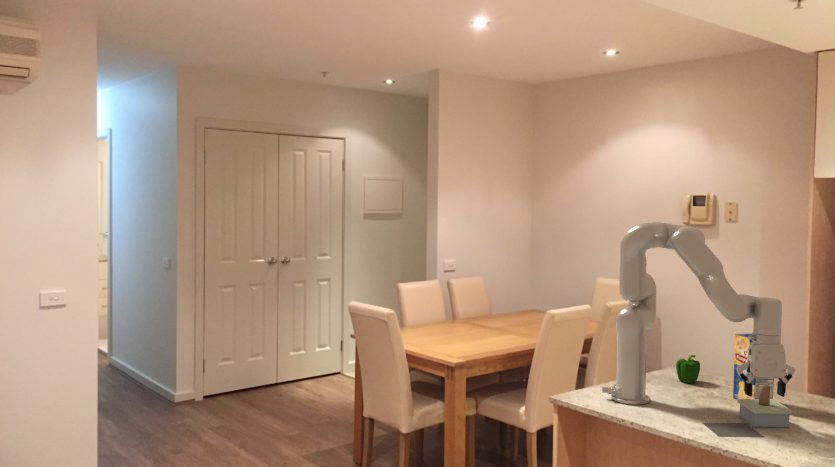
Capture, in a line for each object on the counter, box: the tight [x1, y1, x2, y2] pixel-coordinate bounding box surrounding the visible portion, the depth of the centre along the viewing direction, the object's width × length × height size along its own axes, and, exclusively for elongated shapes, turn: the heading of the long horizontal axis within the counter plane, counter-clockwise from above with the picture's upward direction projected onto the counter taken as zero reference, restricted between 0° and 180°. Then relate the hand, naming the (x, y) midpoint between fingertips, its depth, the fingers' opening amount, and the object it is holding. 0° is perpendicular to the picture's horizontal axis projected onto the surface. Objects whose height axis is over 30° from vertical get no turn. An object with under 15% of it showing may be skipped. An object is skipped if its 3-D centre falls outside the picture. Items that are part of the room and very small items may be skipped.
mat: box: [702, 422, 765, 438], centre depth 204 cm, size 13×12×1 cm
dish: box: [739, 404, 790, 429], centre depth 211 cm, size 10×10×5 cm
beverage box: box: [732, 333, 775, 401], centre depth 232 cm, size 7×11×22 cm, turn 11°
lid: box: [737, 385, 793, 415], centre depth 211 cm, size 11×11×7 cm
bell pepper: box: [675, 354, 701, 384], centre depth 258 cm, size 8×8×10 cm
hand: (764, 395), depth 211 cm, fingers open, 9 cm apart
